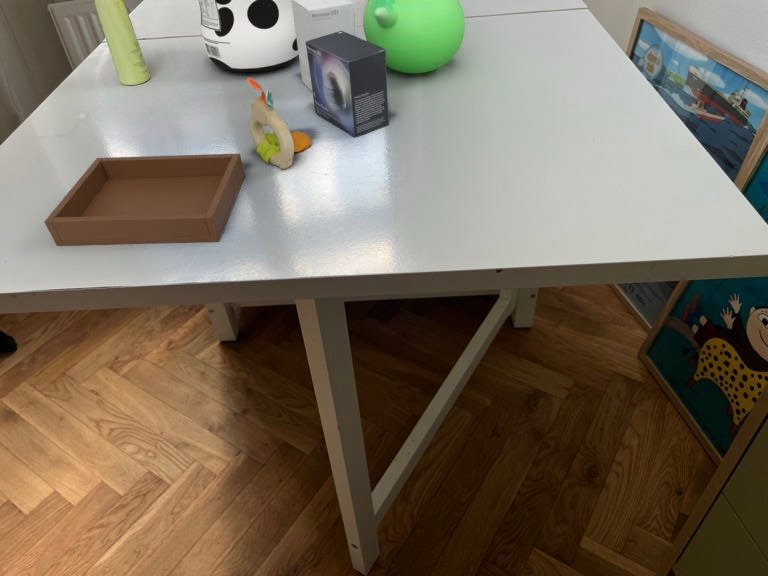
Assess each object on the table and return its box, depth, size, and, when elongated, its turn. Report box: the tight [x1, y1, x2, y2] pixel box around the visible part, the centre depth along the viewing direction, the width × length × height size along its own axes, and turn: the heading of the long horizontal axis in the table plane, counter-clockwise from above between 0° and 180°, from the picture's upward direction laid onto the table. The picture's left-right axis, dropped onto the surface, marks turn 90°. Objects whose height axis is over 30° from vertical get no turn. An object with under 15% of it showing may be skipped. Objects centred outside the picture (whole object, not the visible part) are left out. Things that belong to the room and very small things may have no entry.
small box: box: [305, 31, 390, 138], centre depth 76 cm, size 11×6×10 cm, turn 37°
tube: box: [93, 0, 151, 86], centre depth 88 cm, size 6×5×20 cm
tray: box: [43, 153, 246, 247], centre depth 63 cm, size 18×14×3 cm
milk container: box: [198, 0, 299, 73], centre depth 93 cm, size 17×17×18 cm
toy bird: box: [362, 0, 466, 74], centre depth 88 cm, size 18×17×15 cm
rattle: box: [246, 76, 312, 170], centre depth 68 cm, size 8×8×12 cm
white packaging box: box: [291, 0, 357, 93], centre depth 85 cm, size 7×7×13 cm
